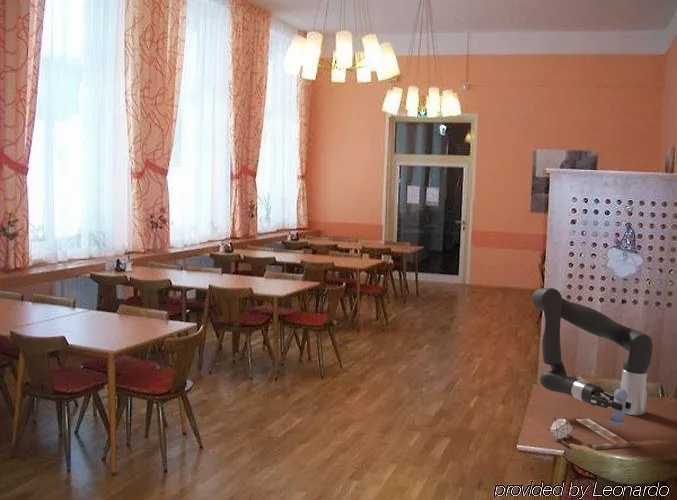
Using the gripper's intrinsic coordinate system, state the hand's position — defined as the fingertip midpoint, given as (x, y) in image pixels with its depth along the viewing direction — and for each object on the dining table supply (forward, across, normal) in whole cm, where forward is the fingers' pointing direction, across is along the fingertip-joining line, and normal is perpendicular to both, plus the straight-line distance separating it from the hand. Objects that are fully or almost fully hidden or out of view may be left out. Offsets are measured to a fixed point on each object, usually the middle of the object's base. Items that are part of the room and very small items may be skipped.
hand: (626, 407), depth 257 cm
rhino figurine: (-50, +37, +15) cm, 64 cm away
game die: (-13, -16, +15) cm, 26 cm away
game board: (-12, 0, +14) cm, 19 cm away
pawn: (-3, 0, +7) cm, 8 cm away
